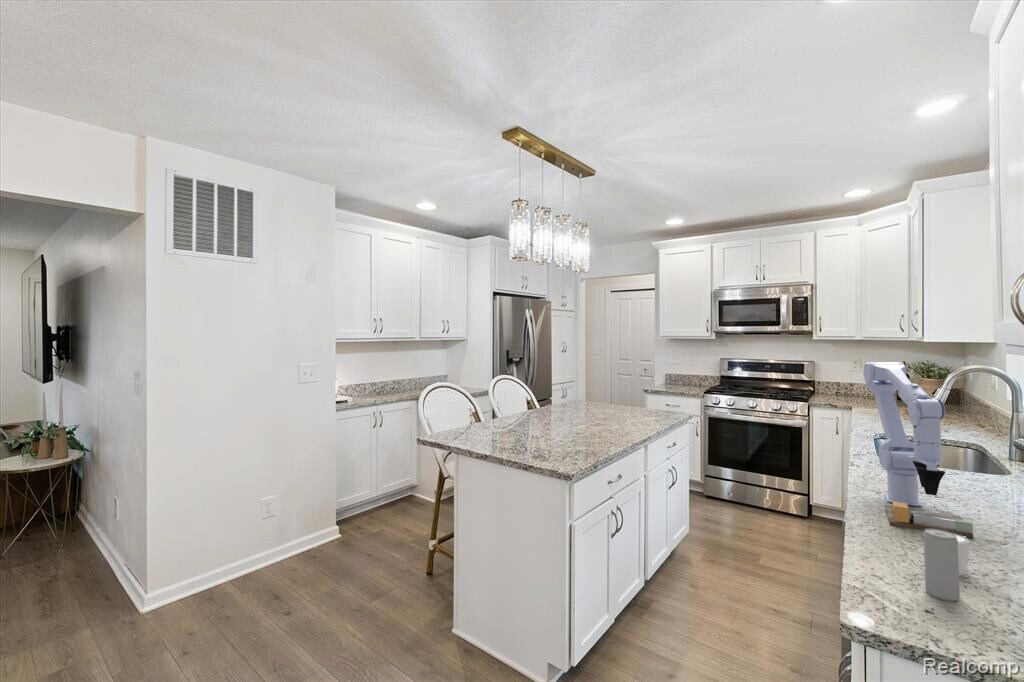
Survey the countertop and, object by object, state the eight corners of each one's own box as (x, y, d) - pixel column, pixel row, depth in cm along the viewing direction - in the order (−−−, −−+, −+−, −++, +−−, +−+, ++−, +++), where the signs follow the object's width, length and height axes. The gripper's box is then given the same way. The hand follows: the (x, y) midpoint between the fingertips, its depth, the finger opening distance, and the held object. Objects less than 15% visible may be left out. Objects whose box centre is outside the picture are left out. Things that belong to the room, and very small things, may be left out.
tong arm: (908, 518, 124) (907, 510, 124) (948, 518, 123) (947, 511, 123) (912, 520, 123) (912, 512, 123) (953, 520, 122) (952, 513, 122)
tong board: (885, 508, 135) (884, 497, 135) (960, 519, 126) (960, 507, 126) (889, 525, 123) (889, 512, 123) (973, 538, 113) (973, 524, 114)
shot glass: (928, 558, 103) (927, 527, 104) (971, 568, 99) (969, 535, 99) (925, 569, 99) (924, 536, 99) (970, 580, 94) (969, 545, 94)
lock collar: (892, 515, 126) (892, 501, 126) (907, 517, 124) (906, 503, 124) (894, 520, 122) (894, 505, 123) (909, 522, 121) (908, 508, 121)
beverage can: (966, 603, 85) (964, 538, 85) (936, 601, 86) (934, 537, 86) (948, 590, 90) (945, 529, 90) (919, 588, 91) (917, 527, 91)
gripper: (905, 436, 136) (906, 482, 136) (911, 445, 124) (913, 495, 124) (937, 438, 132) (938, 486, 132) (947, 448, 120) (948, 500, 120)
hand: (928, 491), depth 128 cm, fingers open, 7 cm apart
